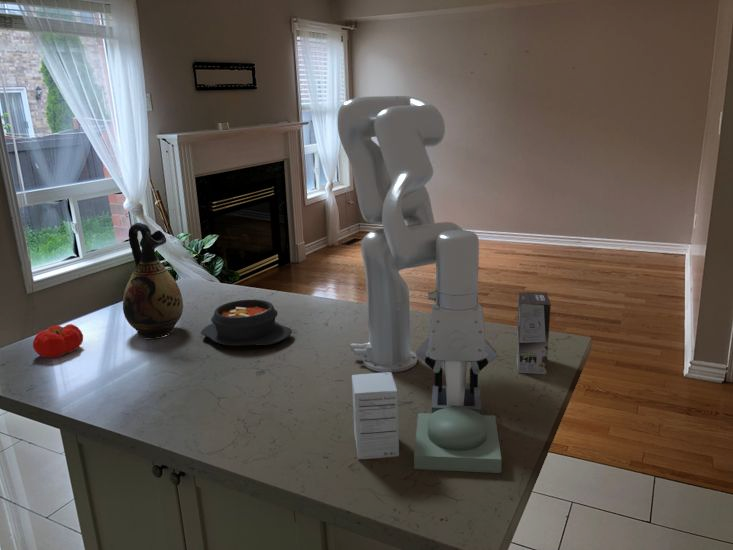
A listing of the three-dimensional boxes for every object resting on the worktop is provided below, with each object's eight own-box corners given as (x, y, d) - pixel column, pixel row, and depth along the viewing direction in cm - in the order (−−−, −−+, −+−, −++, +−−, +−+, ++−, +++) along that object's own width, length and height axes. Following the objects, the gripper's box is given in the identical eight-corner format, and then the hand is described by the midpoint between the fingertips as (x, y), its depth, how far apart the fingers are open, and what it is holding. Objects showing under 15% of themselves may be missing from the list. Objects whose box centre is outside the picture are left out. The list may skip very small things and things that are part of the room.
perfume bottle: (469, 411, 116) (469, 338, 112) (464, 422, 112) (464, 347, 108) (445, 408, 118) (445, 336, 114) (440, 418, 114) (440, 344, 110)
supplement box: (353, 437, 108) (350, 373, 105) (394, 434, 109) (392, 370, 105) (356, 460, 101) (353, 393, 98) (400, 457, 102) (398, 389, 98)
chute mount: (414, 468, 98) (413, 441, 97) (420, 403, 120) (420, 380, 118) (501, 473, 96) (501, 445, 95) (491, 405, 118) (492, 382, 117)
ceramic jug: (198, 328, 165) (185, 221, 157) (152, 347, 153) (136, 232, 145) (157, 318, 174) (144, 216, 166) (111, 335, 162) (93, 227, 154)
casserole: (306, 332, 160) (304, 302, 158) (266, 358, 144) (263, 326, 142) (230, 320, 170) (227, 292, 168) (185, 344, 154) (181, 314, 152)
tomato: (28, 359, 148) (23, 335, 146) (61, 343, 158) (56, 320, 156) (61, 363, 146) (56, 338, 144) (92, 346, 156) (88, 322, 154)
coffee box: (547, 375, 130) (551, 304, 126) (517, 373, 131) (519, 303, 127) (544, 357, 139) (547, 291, 134) (515, 356, 140) (518, 290, 136)
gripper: (408, 305, 106) (409, 397, 111) (507, 306, 103) (503, 400, 108) (410, 292, 113) (411, 379, 118) (503, 292, 111) (500, 382, 116)
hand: (456, 388), depth 113 cm, fingers open, 5 cm apart
